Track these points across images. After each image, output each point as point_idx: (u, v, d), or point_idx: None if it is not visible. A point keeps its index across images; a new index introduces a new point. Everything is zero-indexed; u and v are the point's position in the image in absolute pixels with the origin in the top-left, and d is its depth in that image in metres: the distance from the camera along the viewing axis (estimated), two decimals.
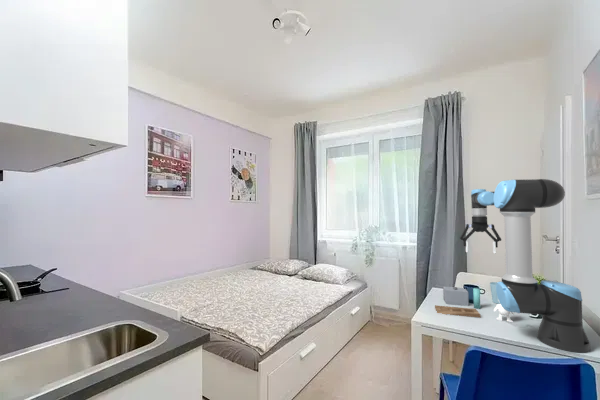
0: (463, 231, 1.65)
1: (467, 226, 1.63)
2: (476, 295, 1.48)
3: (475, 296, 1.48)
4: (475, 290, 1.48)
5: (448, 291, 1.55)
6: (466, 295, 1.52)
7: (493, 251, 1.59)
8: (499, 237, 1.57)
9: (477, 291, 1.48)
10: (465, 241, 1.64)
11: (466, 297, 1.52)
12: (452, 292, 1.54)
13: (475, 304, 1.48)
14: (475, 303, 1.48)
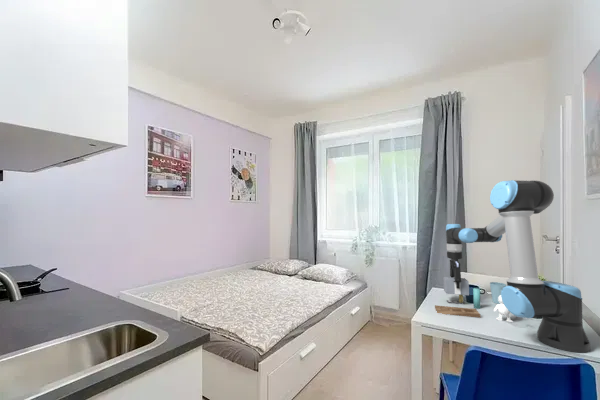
0: None
1: None
2: (476, 295, 1.48)
3: (475, 296, 1.48)
4: (475, 290, 1.48)
5: (448, 281, 1.55)
6: (466, 284, 1.52)
7: None
8: (455, 278, 1.51)
9: (477, 291, 1.48)
10: None
11: (466, 286, 1.52)
12: (452, 282, 1.54)
13: (475, 304, 1.48)
14: (475, 303, 1.48)
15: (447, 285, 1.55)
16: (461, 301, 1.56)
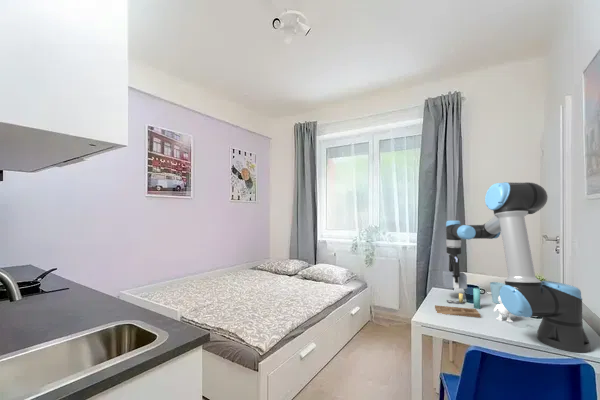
0: None
1: (449, 257, 1.70)
2: (476, 295, 1.48)
3: (475, 296, 1.48)
4: (475, 290, 1.48)
5: (447, 275, 1.61)
6: (465, 279, 1.58)
7: None
8: (454, 272, 1.57)
9: (477, 291, 1.48)
10: None
11: (465, 281, 1.58)
12: (451, 276, 1.60)
13: (475, 304, 1.48)
14: (475, 303, 1.48)
15: (446, 279, 1.61)
16: (461, 301, 1.56)
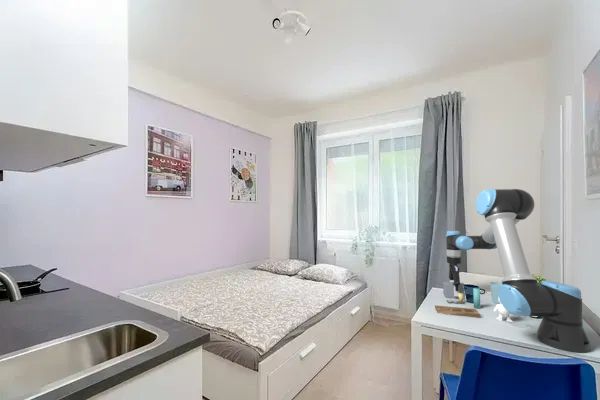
0: None
1: (449, 265, 1.75)
2: (476, 295, 1.48)
3: (475, 296, 1.48)
4: (475, 290, 1.48)
5: (448, 286, 1.66)
6: None
7: None
8: (455, 281, 1.61)
9: (477, 291, 1.48)
10: None
11: None
12: (451, 287, 1.65)
13: (475, 304, 1.48)
14: (475, 303, 1.48)
15: (446, 290, 1.66)
16: (461, 301, 1.56)
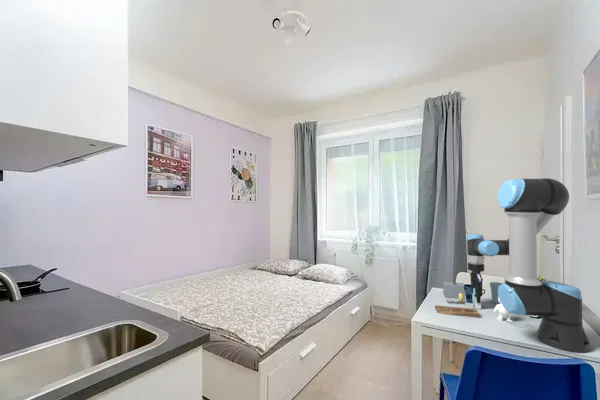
0: None
1: (470, 275, 1.55)
2: None
3: None
4: None
5: (448, 286, 1.66)
6: None
7: None
8: (476, 292, 1.45)
9: None
10: None
11: None
12: (451, 287, 1.65)
13: None
14: None
15: (446, 290, 1.66)
16: (461, 301, 1.56)
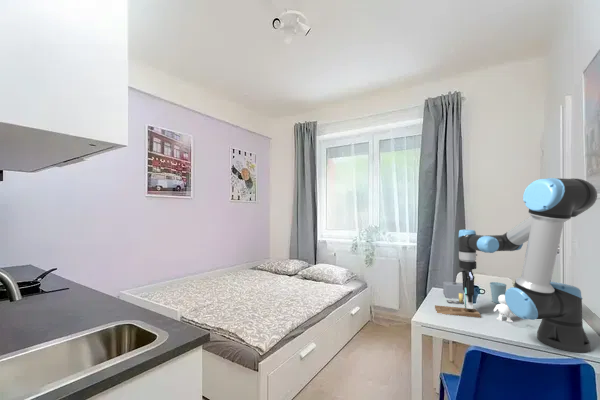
0: None
1: (462, 273, 1.47)
2: None
3: None
4: None
5: (448, 286, 1.66)
6: None
7: None
8: (468, 291, 1.37)
9: None
10: None
11: None
12: (451, 287, 1.65)
13: None
14: None
15: (446, 290, 1.66)
16: (461, 301, 1.56)
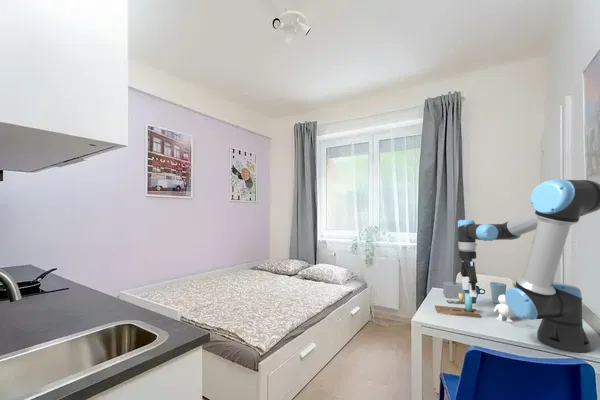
0: None
1: None
2: (468, 300, 1.39)
3: (467, 301, 1.40)
4: (467, 295, 1.40)
5: (448, 286, 1.66)
6: None
7: None
8: (470, 278, 1.32)
9: (469, 296, 1.39)
10: (463, 277, 1.48)
11: None
12: (451, 287, 1.65)
13: (467, 310, 1.40)
14: (467, 309, 1.40)
15: (446, 290, 1.66)
16: (461, 301, 1.56)
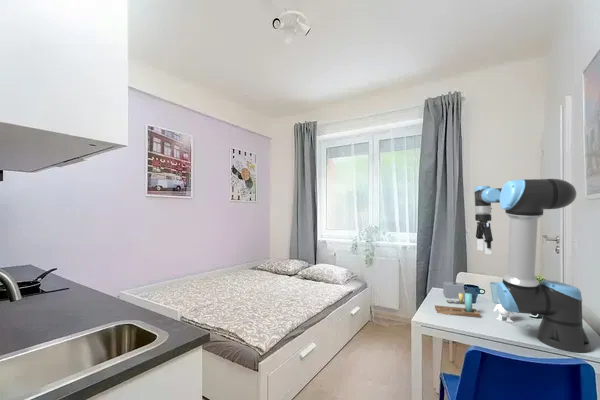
0: None
1: (477, 224, 1.62)
2: (468, 300, 1.39)
3: (467, 301, 1.40)
4: (467, 295, 1.40)
5: (448, 286, 1.66)
6: None
7: None
8: (486, 237, 1.47)
9: (469, 296, 1.39)
10: None
11: None
12: (451, 287, 1.65)
13: (467, 310, 1.40)
14: (467, 309, 1.40)
15: (446, 290, 1.66)
16: (461, 301, 1.56)
